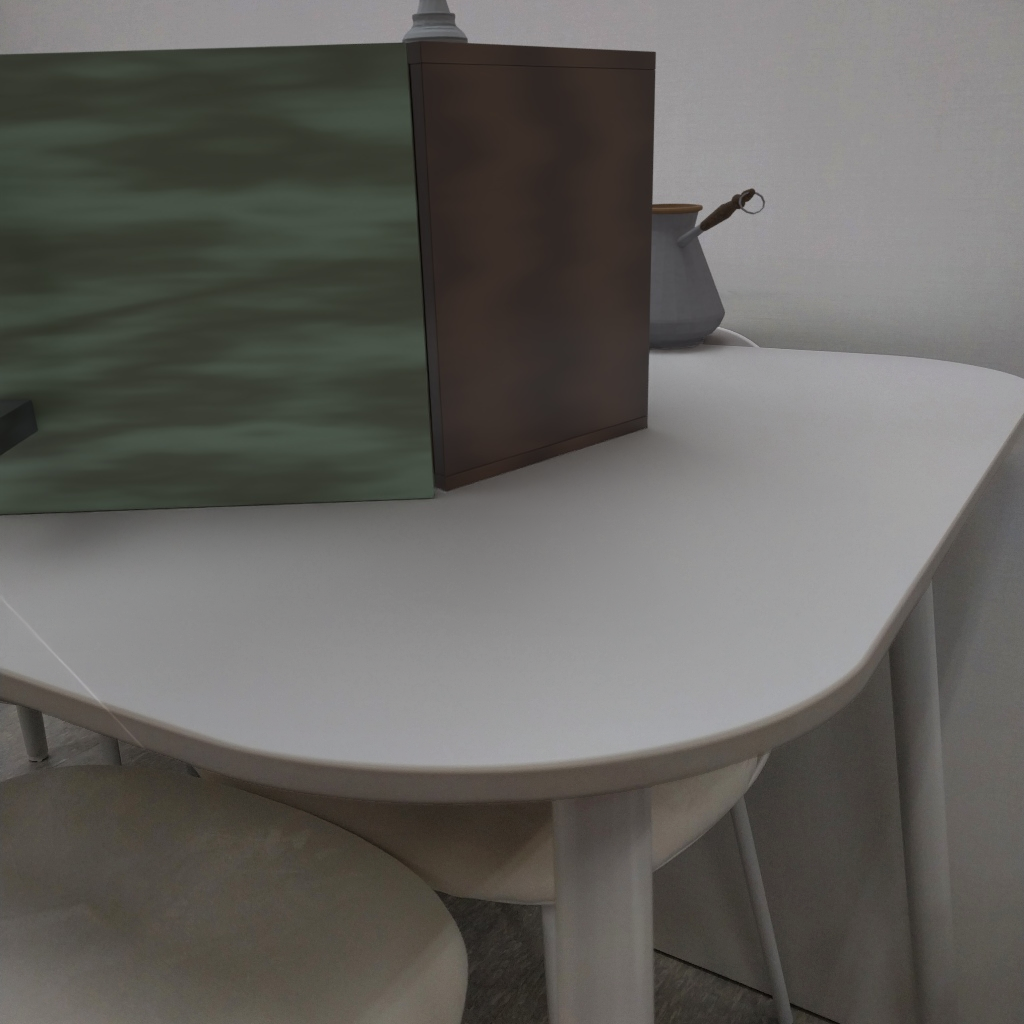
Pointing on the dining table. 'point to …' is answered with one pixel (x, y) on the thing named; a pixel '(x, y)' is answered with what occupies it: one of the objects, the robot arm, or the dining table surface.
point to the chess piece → (434, 24)
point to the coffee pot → (685, 274)
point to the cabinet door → (210, 279)
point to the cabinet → (532, 248)
